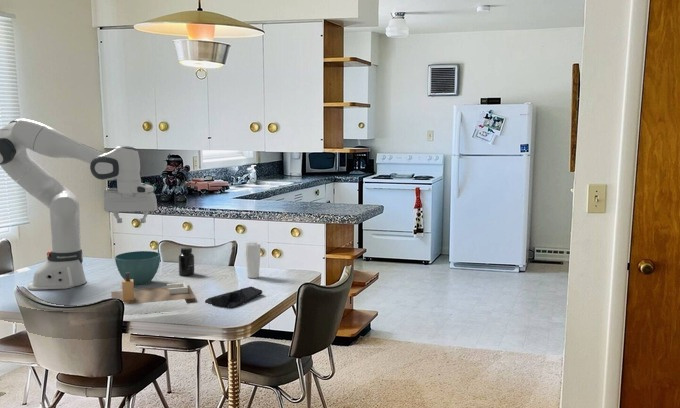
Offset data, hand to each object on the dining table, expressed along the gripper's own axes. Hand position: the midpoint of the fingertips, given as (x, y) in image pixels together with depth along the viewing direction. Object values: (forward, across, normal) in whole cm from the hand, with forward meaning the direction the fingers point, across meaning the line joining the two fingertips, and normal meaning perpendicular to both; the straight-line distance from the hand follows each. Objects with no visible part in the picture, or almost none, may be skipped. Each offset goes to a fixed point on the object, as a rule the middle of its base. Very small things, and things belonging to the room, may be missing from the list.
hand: (131, 222), depth 244 cm
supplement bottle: (+29, +10, +34) cm, 46 cm away
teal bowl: (+29, -5, +16) cm, 34 cm away
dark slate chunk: (+30, +41, -4) cm, 51 cm away
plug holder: (+27, +16, +1) cm, 32 cm away
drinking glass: (+30, +41, +31) cm, 59 cm away
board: (+29, +9, -6) cm, 31 cm away
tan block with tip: (+27, +2, -12) cm, 30 cm away
